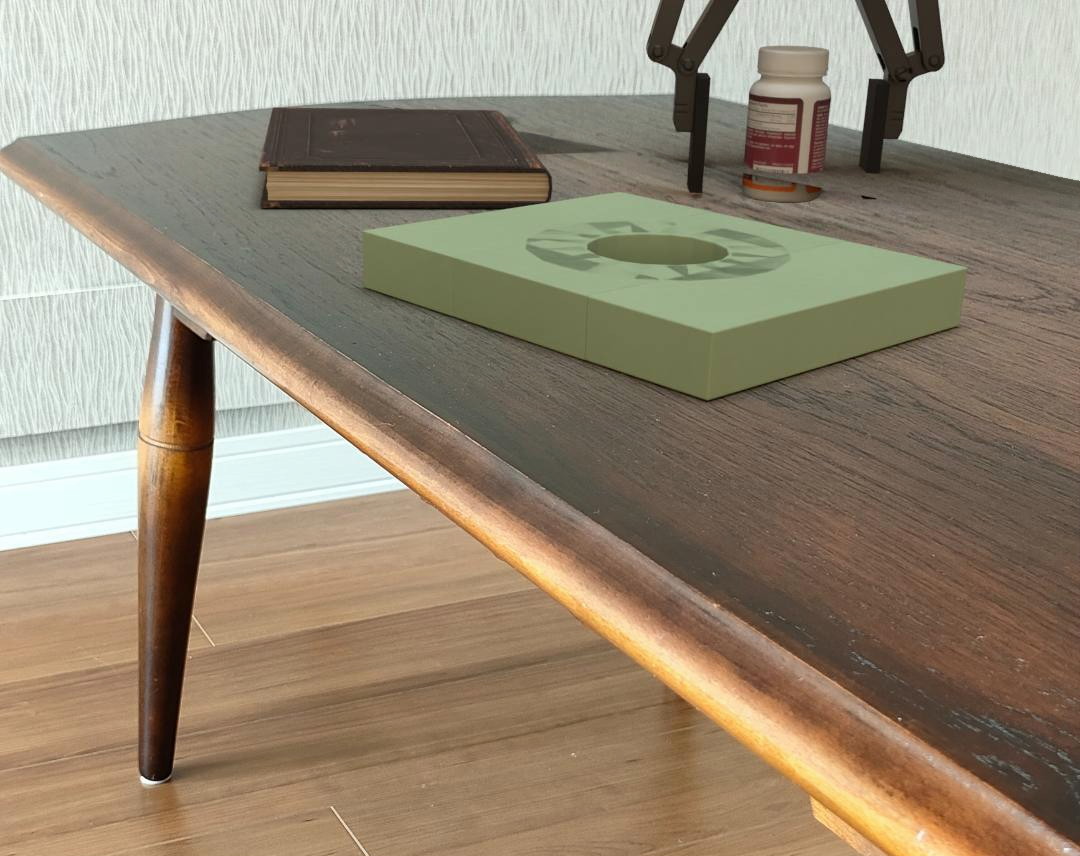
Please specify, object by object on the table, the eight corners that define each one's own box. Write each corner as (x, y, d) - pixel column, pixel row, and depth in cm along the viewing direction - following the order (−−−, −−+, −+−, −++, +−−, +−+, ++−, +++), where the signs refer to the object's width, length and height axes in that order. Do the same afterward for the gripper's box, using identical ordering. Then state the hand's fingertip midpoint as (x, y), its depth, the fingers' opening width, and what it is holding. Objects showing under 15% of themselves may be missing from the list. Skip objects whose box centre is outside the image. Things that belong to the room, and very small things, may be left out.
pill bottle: (794, 187, 89) (808, 44, 86) (836, 201, 85) (852, 52, 82) (726, 190, 88) (737, 44, 84) (765, 205, 84) (778, 53, 80)
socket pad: (959, 326, 60) (968, 267, 59) (707, 401, 50) (712, 331, 49) (617, 241, 74) (619, 191, 73) (363, 287, 64) (362, 230, 63)
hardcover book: (260, 208, 79) (258, 165, 78) (274, 142, 99) (272, 107, 99) (551, 208, 81) (553, 166, 80) (505, 144, 102) (505, 110, 101)
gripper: (613, -245, 74) (594, 197, 83) (1049, -232, 74) (981, 211, 83) (612, -233, 81) (594, 174, 90) (1010, -221, 80) (952, 187, 90)
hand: (779, 191), depth 86 cm, fingers open, 9 cm apart
